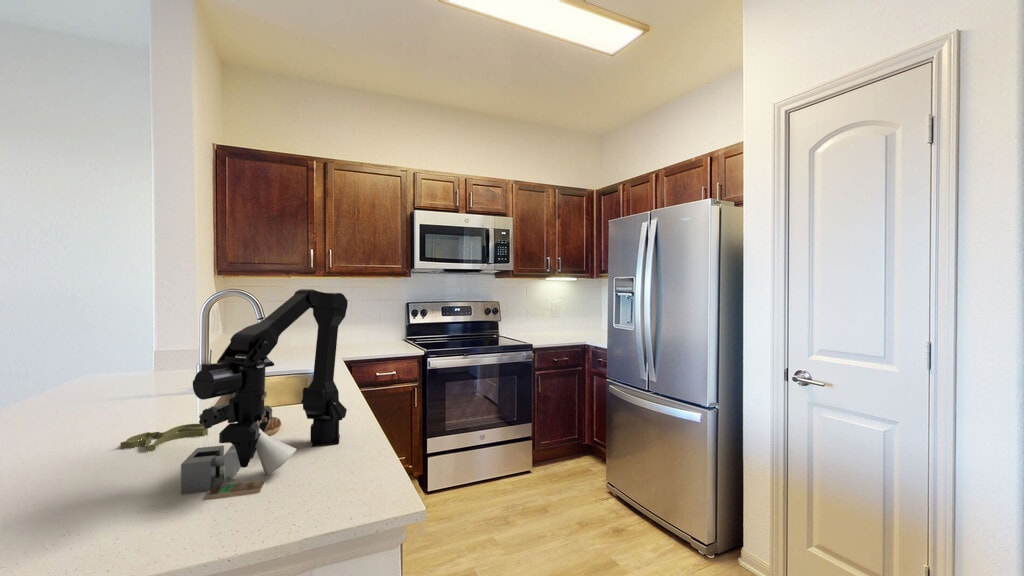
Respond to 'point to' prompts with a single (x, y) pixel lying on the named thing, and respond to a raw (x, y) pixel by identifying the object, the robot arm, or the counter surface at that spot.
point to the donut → (272, 425)
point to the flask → (272, 453)
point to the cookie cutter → (164, 436)
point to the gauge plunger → (228, 464)
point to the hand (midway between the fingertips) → (246, 463)
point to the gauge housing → (211, 475)
